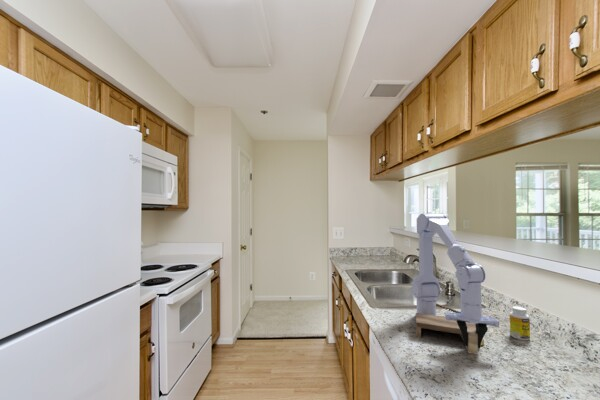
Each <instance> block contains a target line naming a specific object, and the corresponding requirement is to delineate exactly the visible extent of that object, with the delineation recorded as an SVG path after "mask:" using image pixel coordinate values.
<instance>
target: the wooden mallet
mask: <svg viewBox="0 0 600 400" xmlns="http://www.w3.org/2000/svg"><path fill="white" fill-rule="evenodd" d="M459 336H460V337H461V339H462V340H463V336H462V334H461V333H460V334H459ZM463 342H464V340H463ZM467 342H468V347H467V346H465V348H466V349H465V350H467V352H468V353H469V354H473V355H478V354H479V353H478V352H479V351H478V350H479V348H478V334H477V333H476V332H475V331H474V330H467Z"/></svg>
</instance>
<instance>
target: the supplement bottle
mask: <svg viewBox="0 0 600 400" xmlns="http://www.w3.org/2000/svg"><path fill="white" fill-rule="evenodd" d="M527 313H528V312H527V309H526V308H524V307H522V306H512V308H511V311H510V312H509V335H510V336H511V337H512V338H513V339H517V340H520V341H529V340H530V339H531V327H530V326H531V324H530V323H531V322H530V321H531V319H530V315H529V314H527Z"/></svg>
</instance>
